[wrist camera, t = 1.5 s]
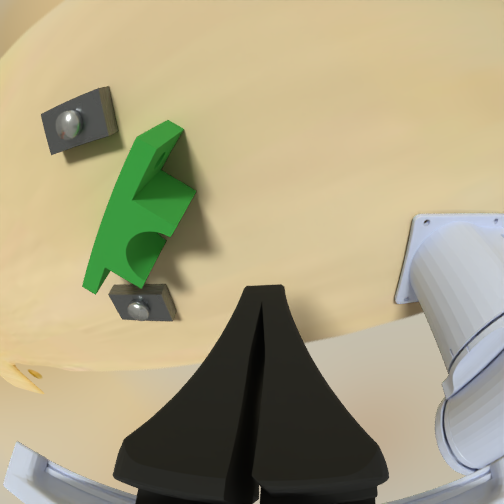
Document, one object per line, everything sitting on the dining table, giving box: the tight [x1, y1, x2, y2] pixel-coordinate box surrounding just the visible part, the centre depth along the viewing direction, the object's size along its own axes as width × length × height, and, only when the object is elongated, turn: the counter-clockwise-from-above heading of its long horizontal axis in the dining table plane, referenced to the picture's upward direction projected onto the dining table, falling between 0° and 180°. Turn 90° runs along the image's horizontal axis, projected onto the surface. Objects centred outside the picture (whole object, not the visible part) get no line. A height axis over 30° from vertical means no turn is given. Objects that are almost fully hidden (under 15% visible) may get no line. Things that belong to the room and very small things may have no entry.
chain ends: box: [41, 86, 176, 321], centre depth 18 cm, size 5×18×2 cm, turn 6°
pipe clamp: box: [82, 120, 196, 295], centre depth 16 cm, size 11×4×5 cm, turn 145°
